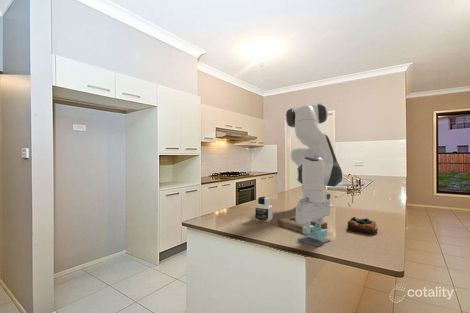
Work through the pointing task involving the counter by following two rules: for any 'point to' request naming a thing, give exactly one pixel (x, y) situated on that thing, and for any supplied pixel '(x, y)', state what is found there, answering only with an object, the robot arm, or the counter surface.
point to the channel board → (292, 223)
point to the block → (315, 232)
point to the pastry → (362, 226)
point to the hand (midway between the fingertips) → (313, 230)
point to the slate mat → (313, 240)
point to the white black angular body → (263, 210)
